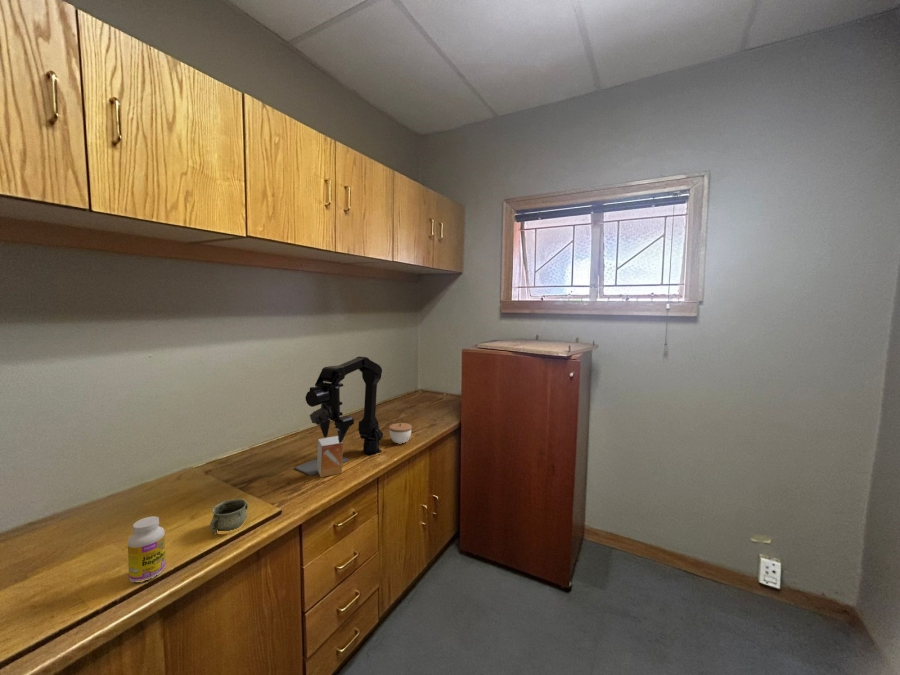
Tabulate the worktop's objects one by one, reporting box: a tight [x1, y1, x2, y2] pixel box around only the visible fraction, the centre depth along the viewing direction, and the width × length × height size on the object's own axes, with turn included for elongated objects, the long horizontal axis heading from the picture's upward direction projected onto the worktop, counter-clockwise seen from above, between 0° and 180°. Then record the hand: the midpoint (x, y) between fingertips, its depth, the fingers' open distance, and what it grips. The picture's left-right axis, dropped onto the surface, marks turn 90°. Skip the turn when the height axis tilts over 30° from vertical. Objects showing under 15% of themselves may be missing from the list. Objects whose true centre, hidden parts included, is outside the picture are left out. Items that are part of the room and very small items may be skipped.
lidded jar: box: [389, 422, 412, 445], centre depth 172 cm, size 11×11×9 cm
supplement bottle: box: [127, 516, 166, 583], centre depth 84 cm, size 7×7×13 cm
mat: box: [294, 456, 350, 477], centre depth 146 cm, size 18×11×1 cm, turn 146°
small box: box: [316, 435, 344, 478], centre depth 138 cm, size 8×6×13 cm
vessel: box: [209, 498, 249, 535], centre depth 103 cm, size 12×9×6 cm
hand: (332, 439), depth 137 cm, fingers open, 9 cm apart
